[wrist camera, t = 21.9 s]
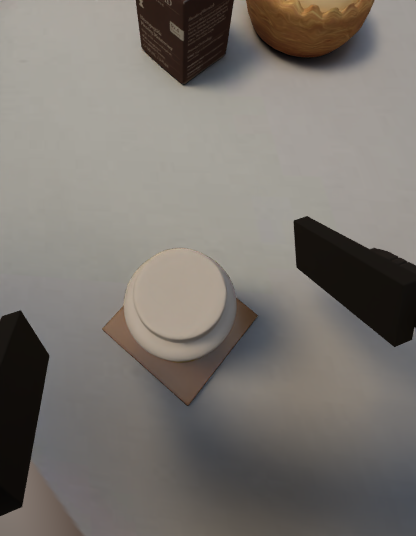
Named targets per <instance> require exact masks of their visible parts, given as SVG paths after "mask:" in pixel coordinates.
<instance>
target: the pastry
mask: <svg viewBox="0 0 416 536" xmlns="http://www.w3.org/2000/svg"><path fill="white" fill-rule="evenodd" d="M246 2H247V8H248V13H249V16H250V19H251V21H252V24H253V26H254V29H255V31H256V32H257V34H258V35H259V36H260V37H261V39H262V40H263V41H265V42H266V43H267V44H268V45H270V46H271V47H273V48H274V49H276V50H278V51H281V52H283V53H286V54H288V55H292V56H297V57H318V56H322V55H325V54H328V53H330V52H332V51H333V50H335V49H337V48H338V47H340V46H341V45H343V44H344V43H346V42H347V41H348V40H349V39H350V38H351V37H352V36H353V35H354V34H356V33H357V31H358V30H359V29H360V28H361V27H362V25H363V23H364V21H365V19H366V17H367V15H368V14H369V12H370V10H371V7H372V5H373V3H374V0H246Z"/></svg>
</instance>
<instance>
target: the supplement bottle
mask: <svg viewBox="0 0 416 536" xmlns="http://www.w3.org/2000/svg"><path fill="white" fill-rule="evenodd" d="M236 307H237V304H236V294H235V290H234V287H233V284H232V282H231V280H230V278H229V276H228V275H227V273H226V272H225V270H224V269H223V268H222V267H221V266H220V265H219V264H218V263H217V262H215V261H214V260H213V259H211V258H210V257H208V256H206V255H204V254H202V253H200V252H198V251H195V250H192V249H186V248H175V249H169V250H165V251H162V252H160V253H158V254H156V255H155V256H153V257H152V258H150V259H149V260H147V261H146V262H145V263H143V264H142V265H141V266H140V267H139V268H138V269H137V271H136V272H135V273H134V275H133V276H132V278H131V280H130V282H129V284H128V286H127V289H126V292H125V297H124V315H125V320H126V323H127V326H128V329H129V331H130V333H131V334H132V336H133V338H134V339H135V340H136V341H137V343H138V344H139V345H140V346H141V347H142V348H143V349H145V350H146V351H147V352H149V353H150V354H152V355H154V356H156V357H159V358H161V359H165V360H168V361H172V362H179V363H183V362H190V361H194V360H197V359H199V358H201V357H203V356H205V355H207V354H209V353H210V352H212V351H213V350H215V349H216V348H217V347H218V346H219V345H220V344H221V343H222V342H223V341H224V339H225V338H226V337H227V335H228V334H229V332H230V330H231V328H232V326H233V323H234V320H235V315H236Z"/></svg>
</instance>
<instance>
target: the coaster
mask: <svg viewBox="0 0 416 536" xmlns="http://www.w3.org/2000/svg"><path fill="white" fill-rule="evenodd" d="M236 304H237V307H236V315H235V320H234V323H233V326H232V328H231V330H230V332H229V334H228V335H227V337H226V338H225V339H224V341H223V342H222V343H221V344H220V345H219V346H218V347H217V348H216V349H215V350H213V351H212V352H210V353H209V354H207V355H205V356H203V357H201V358H199V359H197V360H194V361H190V362H183V363H179V362H172V361H168V360H165V359H161V358H159V357H156V356H154V355H152V354H150V353H149V352H147V351H146V350H145V349H143V348H142V347H141V346H140V345H139V344H138V343H137V341H136V340H135V339H134V338H133V336H132V334H131V333H130V331H129V329H128V326H127V323H126V320H125V315H124V306H123V307H122V308H121V309H120V310H119V311H118V312H117V313H116V314H115V315H114V317H113V318H112V319H111V320H110V321H109V322H108V323H107V324H106V325H105V326H104V327H103V328H102V330H103V331H105V332H106V333H107V334H108V335H109V336H110V337H111V338H112V339H113V340H115V341H116V342H117V343H118V344H119V345H120V346H121V347H122V348H124V349H125V350H126V351H127V352H128V353H129V354H130V355H131V356H132V357H134V358H135V359H136V360H137V361H138V362H139V363H140V364H141V365H142V366H144V367H145V368H146V369H147V370H148V371H149V372H150V373H151V374H153V375H154V376H155V377H156V378H157V379H158V380H159V381H160V382H161V383H163V384H164V385H165V386H166V387H167V388H168V389H169V390H170V391H171V392H173V393H174V394H175V395H176V396H177V397H178V398H179V399H180V400H182V401H183V402H184V403H185V404H186V405H187V406H188V405H189V404H190V403H191V401H192V400H193V399H194V398H195V396H196V395H197V394H198V392H199V391H200V390H201V389H202V387H203V386H204V385H205V383H206V382H207V381H208V379H209V378H210V377H211V376H212V374H213V373H214V372H215V370H216V369H217V368H218V367H219V365H220V364H221V363H222V361H223V360H224V359H225V358H226V356H227V355H228V354H229V352H230V351H231V350H232V349H233V347H234V346H235V345H236V343H237V342H238V341H239V340H240V338H241V337H242V336H243V334H244V333H245V332H246V330H247V329H248V328H249V327H250V325H251V324H252V323H253V321H254V320H255V319H256V318H257V316H258V315H257V314H256V313H254V312H253V311H252V310H251V309H249V308H248V307H247V306H246V305H245V304H243V303H242V302H241V301H240V300H238V299H237V298H236Z"/></svg>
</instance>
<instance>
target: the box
mask: <svg viewBox="0 0 416 536" xmlns="http://www.w3.org/2000/svg"><path fill="white" fill-rule="evenodd" d="M233 2H234V0H136V6H137V14H138V22H139V30H140V38H141V47H142V49H143V50H144V51H145V52H146V53H147V54H148V55H149V56H151V57H152V58H153V59H154V60H155V61H156V62H157V63H158V64H159V65H160V66H162V67H163V68H164V69H165V70H166V71H167V72H168V73H170V74H171V75H172V76H173V77H175V78H176V79H177V80H178V81H179V82H180V83H183V84H185V83H187V82H188V81H189V80H191V79H192V78H194V77H195V76H196V75H197V74H199V73H200V72H201V71H203V70H204V69H206V68H207V67H208V66H210V65H211V64H213V63H214V62H216V61H217V60H219V59H220V58H222V57H223V56H224V55H225V54H226V48H227V42H228V36H229V29H230V22H231V15H232V9H233Z"/></svg>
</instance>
